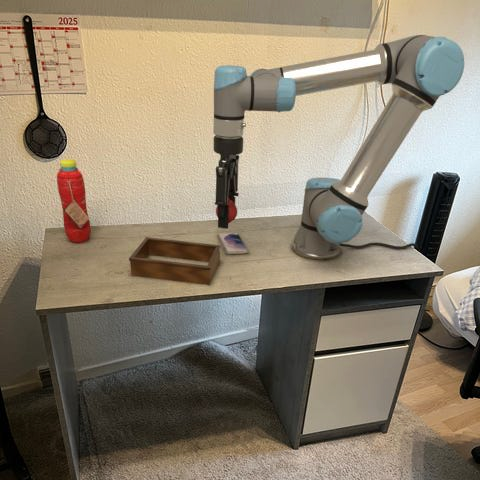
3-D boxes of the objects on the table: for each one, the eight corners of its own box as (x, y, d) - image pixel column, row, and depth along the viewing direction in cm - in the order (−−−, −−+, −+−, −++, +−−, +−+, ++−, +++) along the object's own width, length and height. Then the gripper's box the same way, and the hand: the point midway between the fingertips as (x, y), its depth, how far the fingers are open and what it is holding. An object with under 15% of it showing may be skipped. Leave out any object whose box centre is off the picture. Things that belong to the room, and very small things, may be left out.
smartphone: (237, 232, 160) (248, 251, 148) (237, 234, 160) (248, 253, 148) (217, 233, 158) (226, 252, 146) (217, 235, 159) (226, 254, 147)
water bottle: (92, 248, 146) (81, 167, 132) (65, 250, 144) (51, 167, 130) (92, 233, 156) (82, 155, 142) (67, 234, 154) (54, 156, 140)
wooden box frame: (220, 261, 143) (220, 245, 140) (210, 285, 131) (210, 267, 127) (147, 253, 145) (145, 236, 142) (130, 275, 133) (128, 258, 130)
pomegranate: (239, 222, 132) (240, 194, 128) (232, 229, 128) (233, 200, 123) (219, 218, 134) (220, 191, 129) (212, 226, 129) (213, 197, 125)
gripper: (232, 146, 109) (230, 238, 122) (252, 129, 125) (247, 213, 137) (202, 142, 111) (202, 234, 124) (224, 127, 126) (223, 210, 139)
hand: (226, 223), depth 130 cm, fingers closed on pomegranate, 6 cm apart
